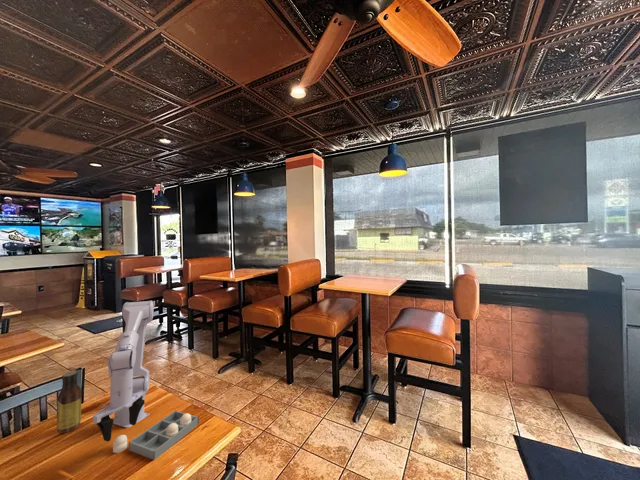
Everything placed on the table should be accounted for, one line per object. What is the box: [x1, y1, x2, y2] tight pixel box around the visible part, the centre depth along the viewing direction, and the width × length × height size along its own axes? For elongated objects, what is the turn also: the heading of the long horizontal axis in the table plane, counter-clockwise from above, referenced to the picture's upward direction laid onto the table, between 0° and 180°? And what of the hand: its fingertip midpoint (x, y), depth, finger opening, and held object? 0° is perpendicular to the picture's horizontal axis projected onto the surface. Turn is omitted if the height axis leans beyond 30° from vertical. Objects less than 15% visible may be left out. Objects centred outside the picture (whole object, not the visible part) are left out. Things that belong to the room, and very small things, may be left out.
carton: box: [128, 410, 200, 461], centre depth 87 cm, size 12×17×3 cm
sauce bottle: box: [56, 370, 82, 434], centre depth 92 cm, size 6×6×20 cm
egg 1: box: [112, 434, 128, 454], centre depth 81 cm, size 4×4×5 cm
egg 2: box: [166, 423, 178, 437], centre depth 86 cm, size 4×4×5 cm
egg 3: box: [180, 412, 192, 426], centre depth 91 cm, size 4×4×5 cm
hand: (120, 431), depth 82 cm, fingers open, 7 cm apart
